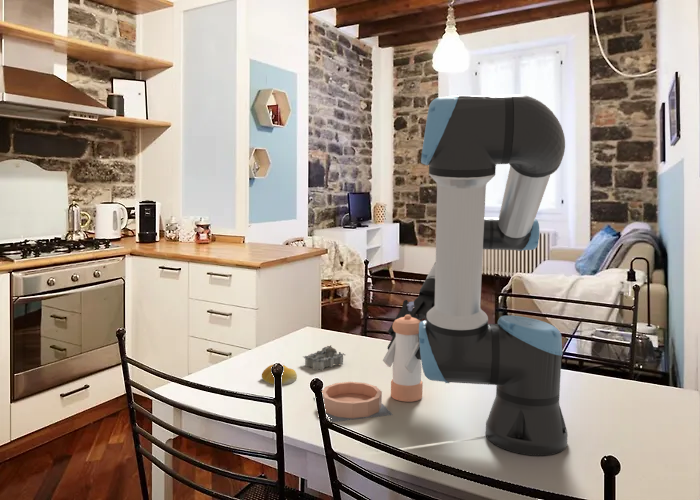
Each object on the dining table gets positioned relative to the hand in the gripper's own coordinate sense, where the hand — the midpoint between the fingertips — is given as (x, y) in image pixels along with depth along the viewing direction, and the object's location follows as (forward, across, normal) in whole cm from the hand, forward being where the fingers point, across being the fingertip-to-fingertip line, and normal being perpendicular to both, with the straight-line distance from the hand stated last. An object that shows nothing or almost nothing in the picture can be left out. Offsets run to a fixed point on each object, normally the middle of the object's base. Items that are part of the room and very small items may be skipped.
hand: (397, 366), depth 124 cm
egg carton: (0, +32, -12) cm, 34 cm away
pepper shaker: (+3, 0, -8) cm, 9 cm away
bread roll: (+12, +31, 0) cm, 33 cm away
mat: (+13, +5, +1) cm, 14 cm away
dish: (+12, +5, +1) cm, 13 cm away
